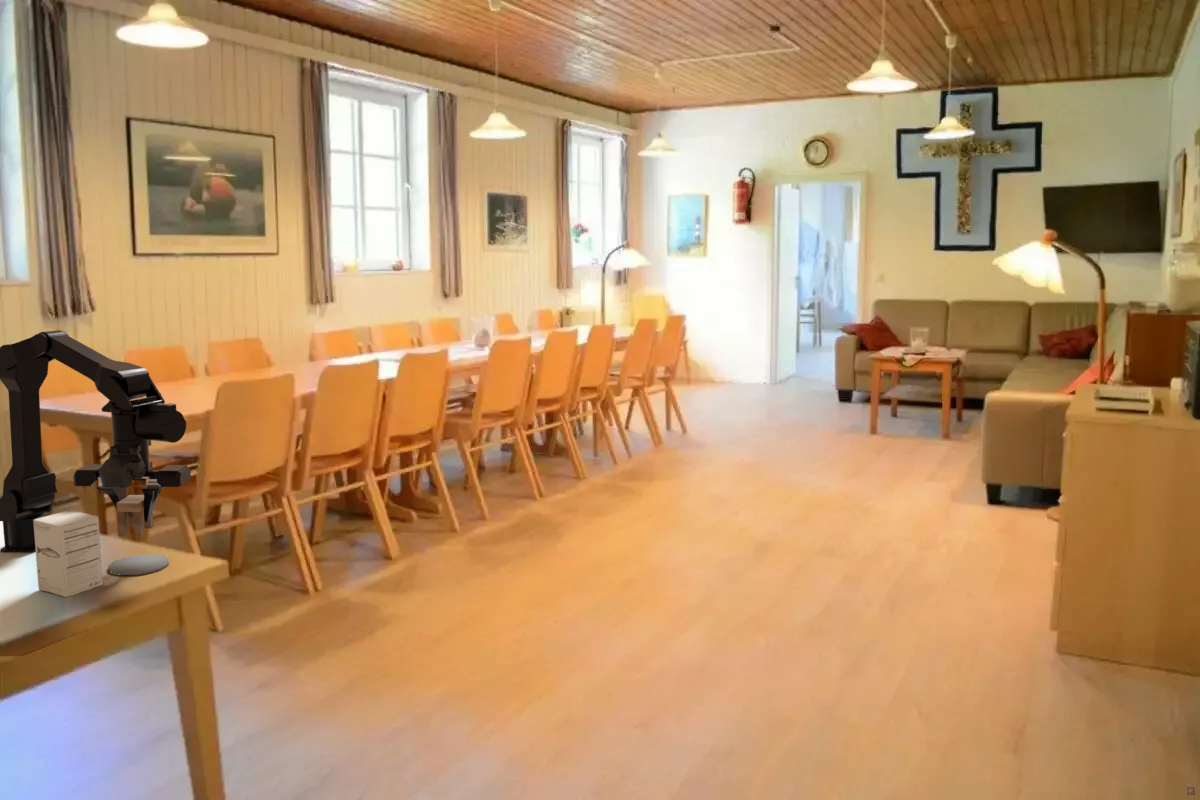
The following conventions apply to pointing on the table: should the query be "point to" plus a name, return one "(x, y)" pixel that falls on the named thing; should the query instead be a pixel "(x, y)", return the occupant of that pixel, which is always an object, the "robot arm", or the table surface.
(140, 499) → the walnut stool
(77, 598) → the table surface
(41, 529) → the supplement box
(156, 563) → the slate mat
